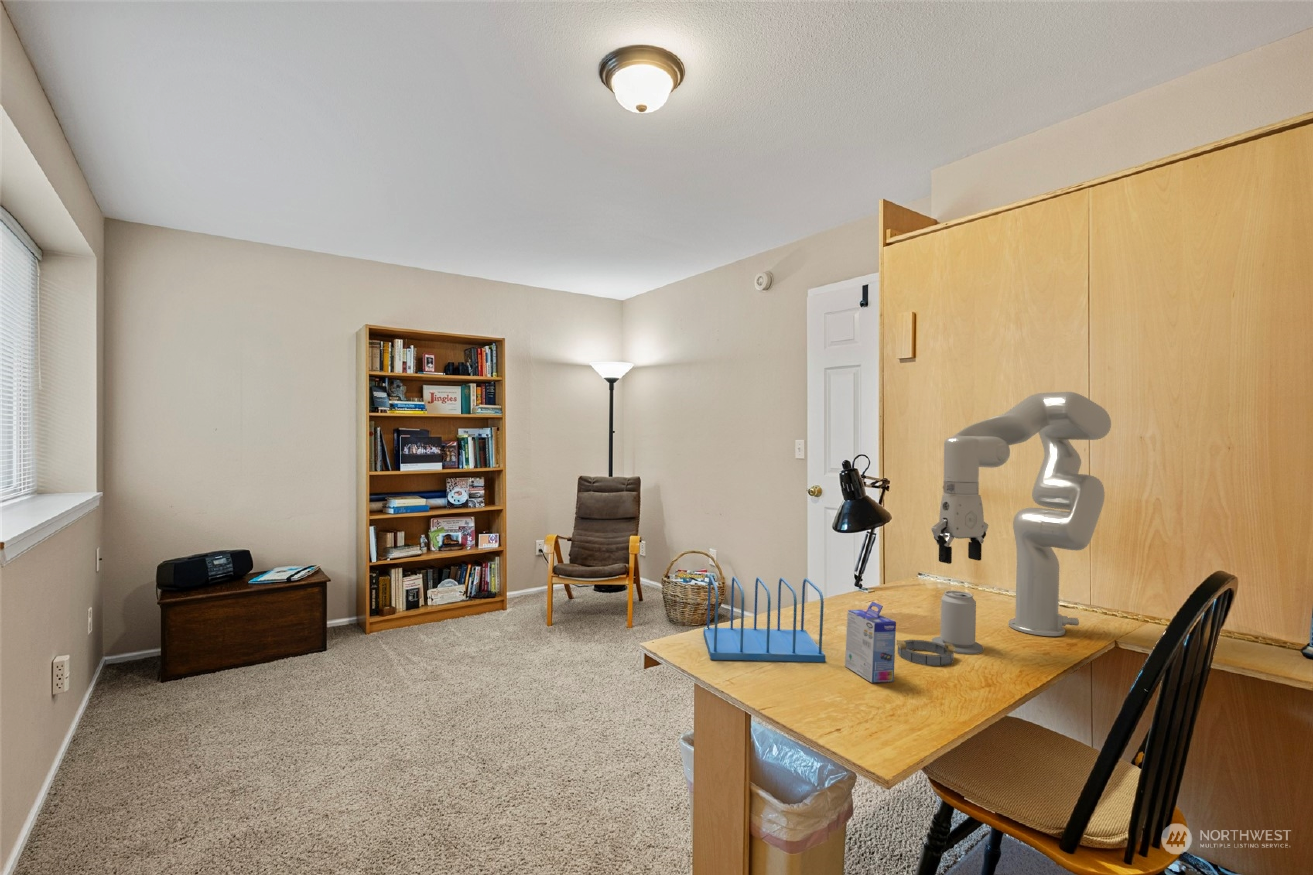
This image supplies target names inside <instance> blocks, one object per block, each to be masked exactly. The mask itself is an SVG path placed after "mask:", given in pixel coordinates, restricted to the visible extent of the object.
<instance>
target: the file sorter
mask: <svg viewBox="0 0 1313 875" xmlns="http://www.w3.org/2000/svg"><path fill="white" fill-rule="evenodd" d="M708 577H709V578H708V586H707V587H708V590H707V591H708V592H707V613H706V614H707V615H706V619H707V620H706V627H705V626H704V627H703V633H702V634H703V638H704V640H705V644H706V647H707V650H708V654H709V659H710V660H713V661H764V662H766V661H767V662H797V663H798V662H801V663H802V662H805V663H826V654H825V652H824V651H823V649H822V648H823V632H824V631H823V628H824V627H823V626H824V602H825V601H824V595H823V592H822V591H821V589H820V588H819V587H817V586H816V584H815V583H813V582H812V581H811V580H810V579H808V578H804V579H803V582H802V591H801V592H802V593H801V614H800V616H801V619H800V623H801V624H800V629H797V612H798V611H797V607H798V604H797V594H796V590H795V589H794V588H793V587H792V586H791V584H790V583H789V582H788V581H787V580H786V579H785V578H784V577H779V580H778V591H777V592H778V594H777V595H778V596H777V628H771V627H770V626H771V602H772V601H771V592H770V589H769V588H768V586H767V585H766V583H764V581H763V579H762V578H761V577H760V576H757V577H756V579H755V586H754V587H755V588H754V590H755V591H754V612H753V613H754V615H753V616H754V617H753V619H754V620H753V628H746V627H745V628H744V626H745V625H744V620H745V617H744V616H745V595H744V594H745V593H744V589H743V587H742V585H741V583H740V581H739V580H738V578H737V577H736V576H732V579H731V590H730V591H731V592H730V593H731V594H730V595H731V596H730V599H731V600H730V601H731V602H730V627H718V622H719V620H718V618H719V616H718V615H719V614H718V612H719V589H718V586H717V584H716V581H715V579H714V577H713V576H712V575H709V576H708ZM735 583H736V585H737V587H738V588H739V591H740V596H741V600H740V602H741V604H740V607H741V609H740V610H741V613H740V628H739V627H738V628H737V627H734V597H735V596H734V595H735ZM759 583H760V584H761V586H762V587H763V588H764V590H765V592H766V594H767V595H766V596H767V610H766V611H767V612H766V613H767V616H766V617H767V618H766V619H767V620H766V621H767V622H766V624H767V625H766V628H757V619H758V618H757V616H758V593H759V592H758V591H759V589H758V588H759ZM782 583H783V584H784V585H786V587H787V588H788V589H789V590H790V591H791V593H792V595H793V623H792V624H793V625H792V627H793V628H792V629H787V628H784V629H782V628H781V604H782V603H781V602H782V600H781V599H782V596H781V595H782ZM806 583H808V584H809V585H810V586H811V587H812V588H813V589H814V590H815V591H816V592H818V594H819V597H820V599H819V600H820V611H819V613H820V614H819V616H820V617H819V634H818V635H819V637H818V644H817V643H816V641H815V640H814V638H812V636H811V635H810V634H809V633H808V631H806V630H805V629H804V626H805V622H804V621H805V620H804V619H805V599H806V598H805V594H806ZM712 586H713V588H714V592H715V593H714V594H715V596H714V597H715V610H714V611H715V612H714V627H710V618H711V616H710V615H711V589H712ZM705 628H708V629H705Z"/></svg>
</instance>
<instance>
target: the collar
mask: <svg viewBox="0 0 1313 875" xmlns="http://www.w3.org/2000/svg"><path fill="white" fill-rule="evenodd" d="M896 645H897V654H898V656H899V657H900V658H901V659H903V660H905V661H908V662H911V663H913V664H918V665H922V666H931V667H932V666H933V667H943V666H950V665H952V663H954V660H955V659H954V657H955V655H954V654H955V653H954V651H955V646H954V645H952V644H951V643H945V645H942V644H940V643H936V642H932V640H931V641H930V640H925V639H905V640H901V639H897V640H896ZM917 651H924V652H926V651H927V652H930V653H935V654H926V653H923V652H917Z"/></svg>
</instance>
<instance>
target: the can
mask: <svg viewBox="0 0 1313 875" xmlns="http://www.w3.org/2000/svg"><path fill="white" fill-rule="evenodd" d="M973 597H974V594H972V593H970V592H966V591H961V590H945V591H944V592H943V595H942V597H941V599H940V636H939V637H940V638H941V639H942V640H943V641H944V642H945V643H951V644H952V645H954V646H955V647H971V646H972V645H973V644H974V643H975V642H976V630H977V629H976V626H977V625H976V624H977V623H976V622H977V621H976V620H977V619H976V618H977V601H976V600H975V599H974V598H973Z"/></svg>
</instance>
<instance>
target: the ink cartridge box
mask: <svg viewBox="0 0 1313 875" xmlns="http://www.w3.org/2000/svg"><path fill="white" fill-rule="evenodd" d="M872 607H876V609H877V611H876V610H875V609H872ZM883 608H884V606H883V605H881V604H879V603H877V602H874V601H872V602H871V603H870V604H869V606H868V608H867V609H850V610H847V619H846V620H847V621H846V635H845V636H846V637H845V656H844V666H845V667H846V668H847V669H849V670H850V671H852V672H853V673H855V674H857V675H858V676H860V677H861V678H863V679H865V680H867V681H868V682H870V683H872V684H873V683H876V684H877V683H894V681H895V662H896V660H895V658H896V657H895V656H896V634H897V633H896V632H897V631H896V630H897V621H896V620H893V619H891V618H889V617H886V616H884V615H881V612H882V611H883Z"/></svg>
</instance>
